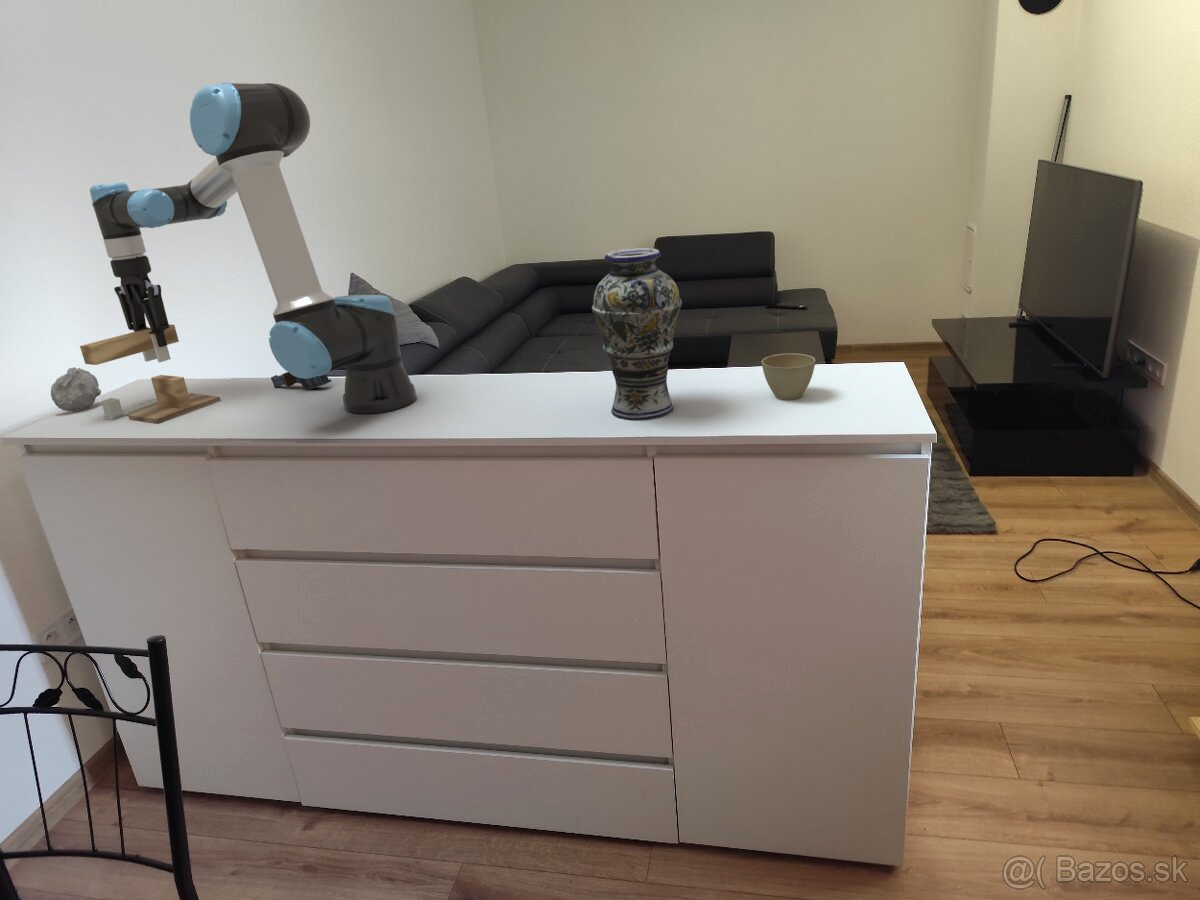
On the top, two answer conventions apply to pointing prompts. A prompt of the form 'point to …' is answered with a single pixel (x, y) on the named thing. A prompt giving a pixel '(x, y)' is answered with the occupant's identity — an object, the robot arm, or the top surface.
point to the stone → (75, 390)
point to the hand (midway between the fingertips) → (157, 360)
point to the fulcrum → (172, 400)
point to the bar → (123, 345)
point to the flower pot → (788, 374)
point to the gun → (299, 381)
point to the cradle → (115, 411)
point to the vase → (637, 331)
